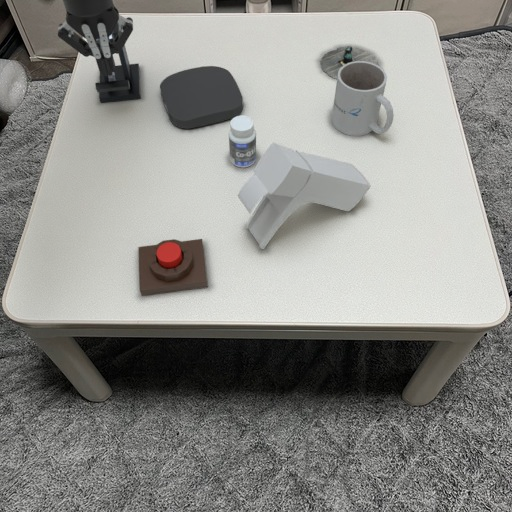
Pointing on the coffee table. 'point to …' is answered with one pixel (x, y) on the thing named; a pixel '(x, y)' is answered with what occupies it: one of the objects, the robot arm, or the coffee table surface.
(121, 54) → the bracket
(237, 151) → the pill bottle
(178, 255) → the button
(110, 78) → the lever
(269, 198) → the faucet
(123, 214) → the coffee table surface
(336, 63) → the sculpture
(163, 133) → the coffee table surface
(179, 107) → the media streaming box
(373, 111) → the mug
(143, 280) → the button box
